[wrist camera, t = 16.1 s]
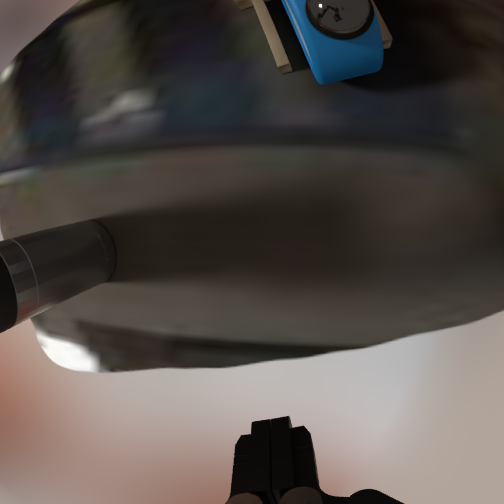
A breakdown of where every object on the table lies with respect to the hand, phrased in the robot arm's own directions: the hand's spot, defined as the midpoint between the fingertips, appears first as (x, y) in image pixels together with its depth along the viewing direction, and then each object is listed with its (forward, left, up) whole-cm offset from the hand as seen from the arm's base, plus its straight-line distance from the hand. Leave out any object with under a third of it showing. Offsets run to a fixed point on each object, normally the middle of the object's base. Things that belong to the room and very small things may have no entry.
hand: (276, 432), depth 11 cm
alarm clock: (+8, +24, -24) cm, 35 cm away
